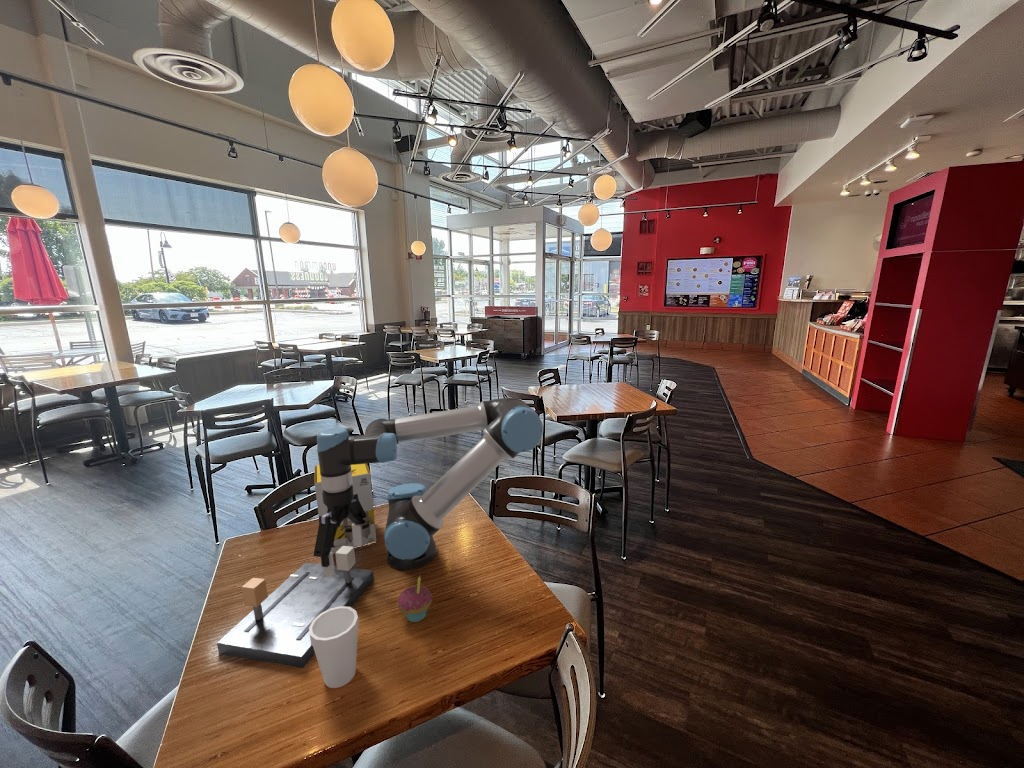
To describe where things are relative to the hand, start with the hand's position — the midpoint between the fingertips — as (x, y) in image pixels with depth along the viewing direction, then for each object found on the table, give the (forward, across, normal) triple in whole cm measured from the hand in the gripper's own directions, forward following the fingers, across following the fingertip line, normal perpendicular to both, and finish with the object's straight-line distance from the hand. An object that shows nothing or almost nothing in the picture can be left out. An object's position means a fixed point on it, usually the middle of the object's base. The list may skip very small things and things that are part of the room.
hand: (344, 559), depth 113 cm
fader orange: (+7, +16, -14) cm, 22 cm away
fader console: (+10, +9, -7) cm, 15 cm away
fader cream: (+7, 0, 0) cm, 7 cm away
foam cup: (+10, +24, +13) cm, 29 cm away
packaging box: (+10, -25, -16) cm, 31 cm away
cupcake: (+10, +5, +22) cm, 25 cm away
